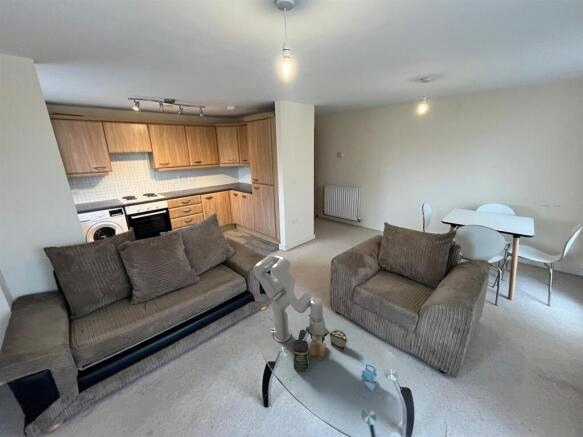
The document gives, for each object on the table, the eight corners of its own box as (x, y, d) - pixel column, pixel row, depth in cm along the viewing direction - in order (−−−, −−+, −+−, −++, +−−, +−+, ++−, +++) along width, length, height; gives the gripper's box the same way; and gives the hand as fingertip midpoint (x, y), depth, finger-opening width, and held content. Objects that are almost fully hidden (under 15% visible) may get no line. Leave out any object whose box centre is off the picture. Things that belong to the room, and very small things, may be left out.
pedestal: (308, 358, 154) (308, 353, 153) (311, 345, 163) (311, 341, 162) (324, 360, 152) (324, 356, 150) (326, 347, 161) (325, 343, 159)
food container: (349, 345, 161) (350, 333, 158) (346, 352, 156) (347, 340, 153) (332, 338, 167) (332, 326, 164) (329, 344, 163) (329, 333, 159)
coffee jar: (292, 371, 146) (291, 347, 140) (294, 359, 153) (293, 336, 147) (308, 372, 144) (307, 349, 138) (309, 361, 152) (308, 338, 146)
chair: (364, 374, 141) (364, 359, 137) (378, 382, 136) (379, 366, 132) (358, 384, 136) (359, 369, 132) (373, 393, 131) (373, 377, 127)
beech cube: (312, 343, 152) (312, 336, 150) (314, 336, 157) (313, 329, 155) (321, 345, 150) (321, 337, 148) (323, 337, 156) (322, 330, 154)
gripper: (301, 319, 147) (303, 342, 152) (330, 323, 142) (330, 347, 148) (304, 311, 153) (305, 333, 159) (331, 314, 149) (332, 337, 155)
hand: (317, 339), depth 153 cm, fingers closed on beech cube, 6 cm apart
